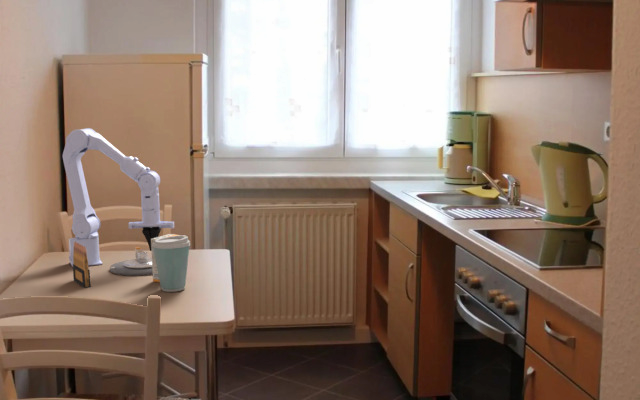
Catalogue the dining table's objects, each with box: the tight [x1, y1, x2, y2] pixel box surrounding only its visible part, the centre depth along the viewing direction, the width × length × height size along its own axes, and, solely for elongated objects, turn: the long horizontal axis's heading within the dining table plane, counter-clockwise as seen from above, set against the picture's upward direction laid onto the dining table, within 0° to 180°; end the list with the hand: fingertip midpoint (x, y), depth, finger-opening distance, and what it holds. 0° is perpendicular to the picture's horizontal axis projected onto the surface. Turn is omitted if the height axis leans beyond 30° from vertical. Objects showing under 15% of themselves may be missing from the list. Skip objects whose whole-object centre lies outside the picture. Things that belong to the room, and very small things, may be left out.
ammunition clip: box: [72, 241, 92, 289], centre depth 225 cm, size 11×2×12 cm, turn 34°
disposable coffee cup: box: [152, 234, 191, 293], centre depth 217 cm, size 11×11×15 cm
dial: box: [123, 246, 152, 269], centre depth 245 cm, size 14×12×4 cm
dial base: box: [109, 257, 153, 277], centre depth 245 cm, size 20×20×1 cm
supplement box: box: [151, 233, 179, 283], centre depth 229 cm, size 8×5×13 cm, turn 149°
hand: (152, 250), depth 250 cm, fingers closed
